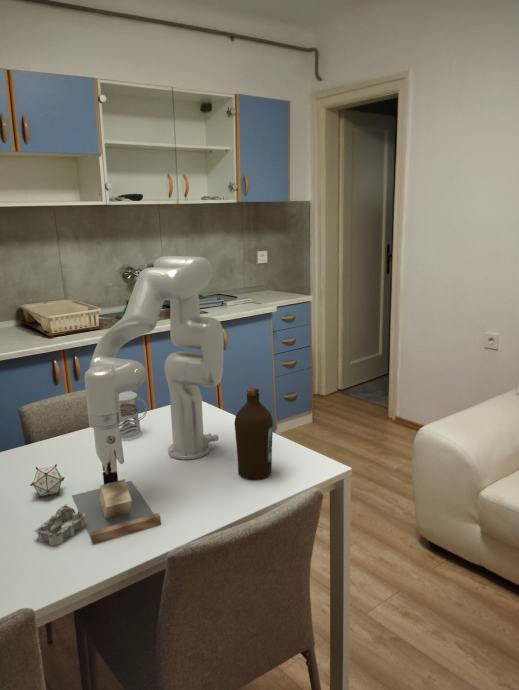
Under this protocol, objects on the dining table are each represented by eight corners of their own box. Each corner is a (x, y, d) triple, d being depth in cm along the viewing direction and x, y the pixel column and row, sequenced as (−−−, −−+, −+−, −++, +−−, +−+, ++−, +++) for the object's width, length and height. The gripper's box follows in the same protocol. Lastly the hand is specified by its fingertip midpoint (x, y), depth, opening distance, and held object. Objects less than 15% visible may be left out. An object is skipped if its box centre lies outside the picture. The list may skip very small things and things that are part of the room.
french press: (112, 431, 190) (105, 360, 183) (146, 426, 193) (141, 357, 187) (113, 443, 180) (106, 368, 174) (150, 437, 184) (144, 364, 178)
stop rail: (158, 522, 135) (158, 512, 135) (161, 525, 134) (160, 516, 133) (91, 541, 128) (90, 532, 127) (93, 545, 127) (92, 535, 126)
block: (124, 479, 138) (131, 500, 135) (123, 491, 143) (129, 512, 139) (100, 485, 136) (106, 507, 132) (99, 497, 140) (105, 519, 136)
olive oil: (236, 482, 154) (233, 396, 147) (236, 464, 164) (233, 383, 158) (274, 480, 154) (273, 394, 148) (272, 463, 164) (271, 382, 158)
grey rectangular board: (131, 481, 155) (131, 480, 155) (158, 522, 135) (158, 521, 135) (71, 496, 148) (71, 495, 148) (91, 541, 128) (91, 540, 128)
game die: (54, 510, 149) (50, 494, 141) (25, 497, 149) (20, 480, 142) (73, 481, 154) (70, 464, 147) (45, 469, 155) (41, 452, 148)
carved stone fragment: (69, 517, 138) (67, 502, 137) (91, 524, 134) (89, 509, 133) (33, 540, 129) (30, 524, 128) (55, 549, 125) (52, 533, 124)
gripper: (128, 424, 130) (134, 495, 135) (112, 405, 143) (118, 470, 148) (95, 431, 127) (103, 504, 132) (82, 410, 140) (89, 477, 144)
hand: (111, 486), depth 140 cm, fingers closed
